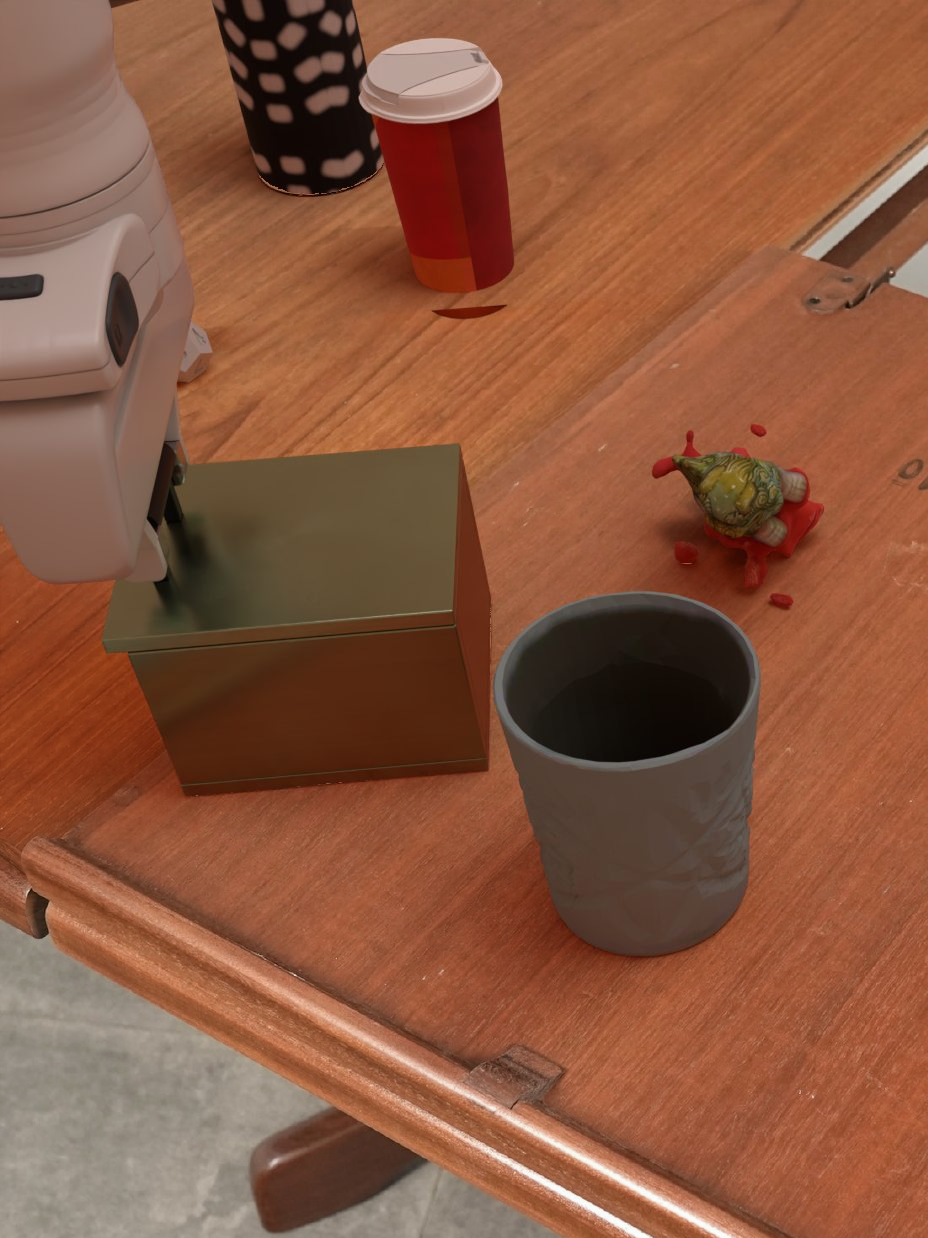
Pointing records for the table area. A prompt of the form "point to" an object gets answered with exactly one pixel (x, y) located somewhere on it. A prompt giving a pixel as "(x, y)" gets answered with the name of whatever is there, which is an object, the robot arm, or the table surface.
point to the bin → (331, 699)
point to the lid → (297, 549)
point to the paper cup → (445, 162)
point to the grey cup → (635, 764)
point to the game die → (195, 354)
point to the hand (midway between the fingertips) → (159, 523)
